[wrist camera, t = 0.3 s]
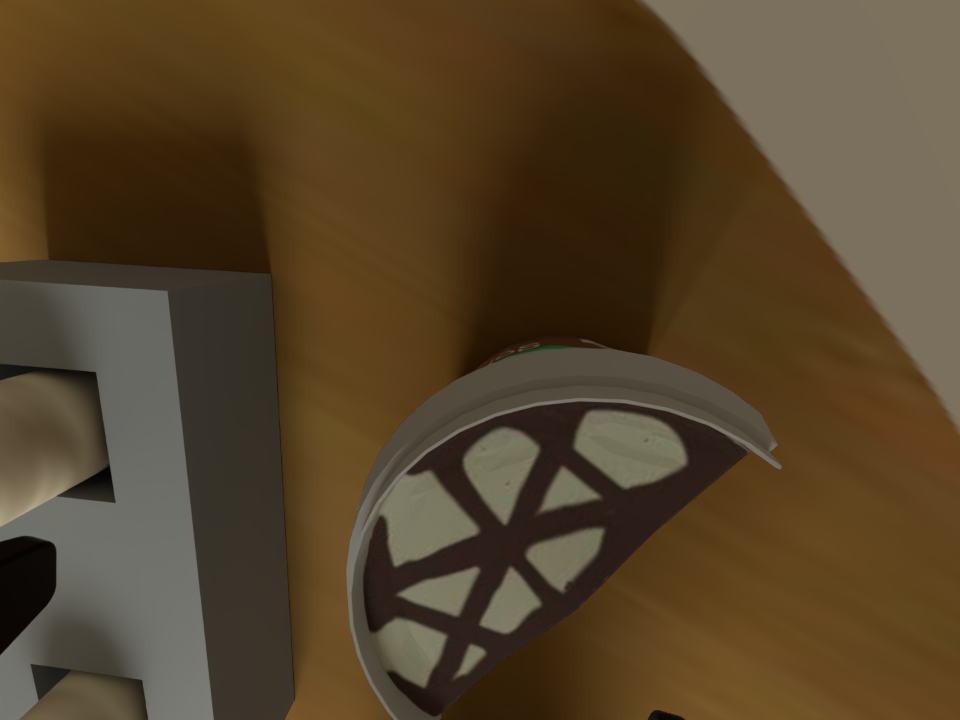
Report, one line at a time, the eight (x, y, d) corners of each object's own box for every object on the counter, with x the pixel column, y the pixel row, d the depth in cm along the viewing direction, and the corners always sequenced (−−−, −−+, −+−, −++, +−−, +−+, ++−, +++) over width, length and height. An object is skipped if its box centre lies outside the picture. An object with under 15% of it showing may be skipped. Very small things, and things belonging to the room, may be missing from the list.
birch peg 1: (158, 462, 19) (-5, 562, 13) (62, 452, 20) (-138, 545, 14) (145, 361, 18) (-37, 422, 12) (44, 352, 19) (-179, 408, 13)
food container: (555, 234, 19) (574, 238, 9) (672, 341, 20) (804, 449, 10) (362, 451, 22) (229, 621, 13) (468, 538, 23) (417, 766, 13)
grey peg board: (294, 700, 26) (225, 833, 20) (116, 674, 27) (2, 794, 21) (270, 273, 21) (167, 290, 15) (47, 259, 22) (-132, 270, 16)
